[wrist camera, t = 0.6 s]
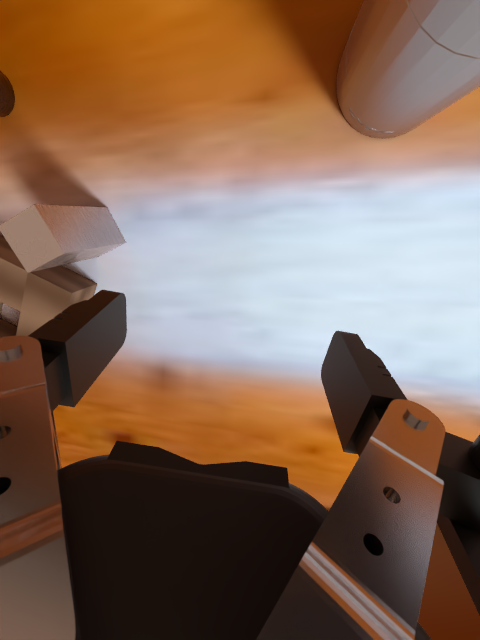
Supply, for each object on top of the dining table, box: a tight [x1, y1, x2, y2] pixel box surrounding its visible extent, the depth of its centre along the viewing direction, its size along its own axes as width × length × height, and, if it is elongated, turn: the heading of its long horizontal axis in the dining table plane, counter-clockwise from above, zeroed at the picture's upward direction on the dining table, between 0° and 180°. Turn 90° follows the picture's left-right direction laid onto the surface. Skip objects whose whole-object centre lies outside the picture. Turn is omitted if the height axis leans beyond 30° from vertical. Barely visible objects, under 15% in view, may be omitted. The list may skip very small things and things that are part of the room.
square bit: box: [0, 204, 126, 273], centre depth 28 cm, size 4×4×10 cm
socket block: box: [0, 236, 97, 338], centre depth 35 cm, size 16×16×4 cm
